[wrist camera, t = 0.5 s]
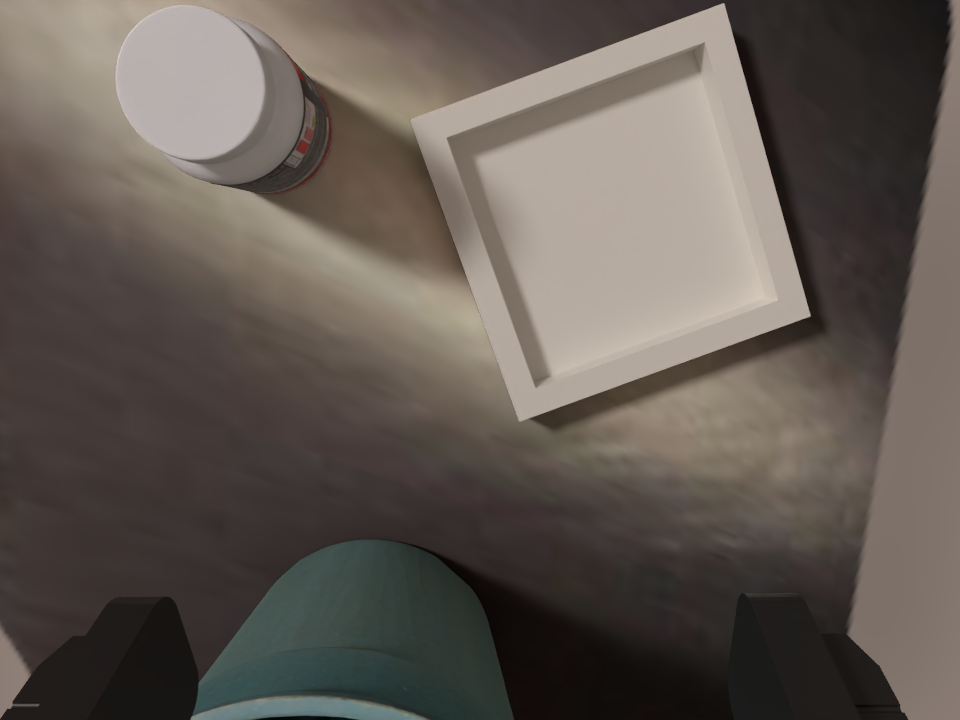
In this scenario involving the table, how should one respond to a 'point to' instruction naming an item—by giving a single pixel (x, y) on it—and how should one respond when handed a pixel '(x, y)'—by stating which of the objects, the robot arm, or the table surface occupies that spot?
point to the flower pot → (360, 644)
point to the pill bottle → (222, 101)
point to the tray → (615, 213)
